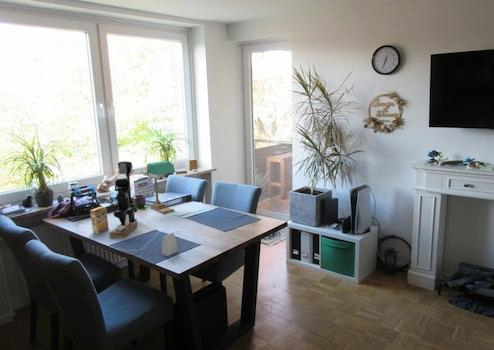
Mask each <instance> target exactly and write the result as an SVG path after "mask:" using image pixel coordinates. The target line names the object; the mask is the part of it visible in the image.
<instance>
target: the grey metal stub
mask: <svg viewBox="0 0 494 350" xmlns="http://www.w3.org/2000/svg"><path fill="white" fill-rule="evenodd" d="M116 227H117V228H118V231H123V225H122V224H121V223H119V224H117V225H116Z"/></svg>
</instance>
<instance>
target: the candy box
mask: <svg viewBox="0 0 494 350" xmlns="http://www.w3.org/2000/svg"><path fill="white" fill-rule="evenodd" d="M89 213H90V219H91V229H92V233H94V234H100V233H102V232H105V231H107V230H109V227H110V226H109V221H108V212H107V207H106V206H104V205H103V206H101V205H100V206H98V207H95V208H92V209H90V210H89Z"/></svg>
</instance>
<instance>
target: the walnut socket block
mask: <svg viewBox="0 0 494 350" xmlns="http://www.w3.org/2000/svg"><path fill="white" fill-rule="evenodd" d="M137 223H138V222H132V223H129V226H123V231H118V228H117V226H116V227H115V228H114V229H113V230H111V231H110V232H109V237H110V238H109V239H113V238H115V239H117V238H118V239H119V238H121V239H122V238H124V239H125V238H126V237H128V236H129V235H130V234H131V233H133V231H135V230H136V229H137V227H138V225H137Z"/></svg>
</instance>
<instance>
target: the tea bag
mask: <svg viewBox="0 0 494 350" xmlns="http://www.w3.org/2000/svg"><path fill="white" fill-rule="evenodd" d="M177 243H178V242H177V239H176V237H175V234H174V232H171V233H169V234H166V235H164V236H163V239H162V241H161V251H162V256H166V257H169V256H171V255H173V254H175V253H177V252H178V245H177Z"/></svg>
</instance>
